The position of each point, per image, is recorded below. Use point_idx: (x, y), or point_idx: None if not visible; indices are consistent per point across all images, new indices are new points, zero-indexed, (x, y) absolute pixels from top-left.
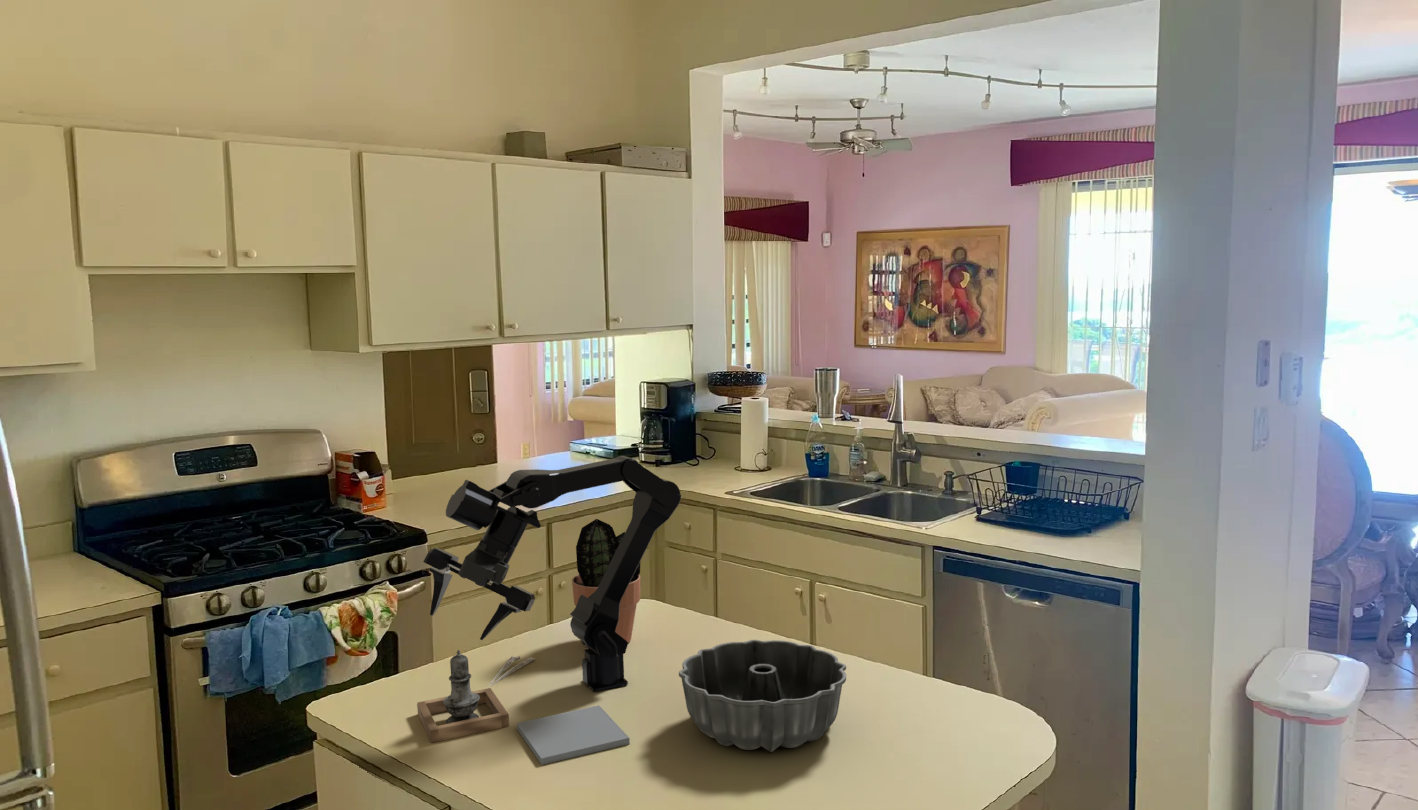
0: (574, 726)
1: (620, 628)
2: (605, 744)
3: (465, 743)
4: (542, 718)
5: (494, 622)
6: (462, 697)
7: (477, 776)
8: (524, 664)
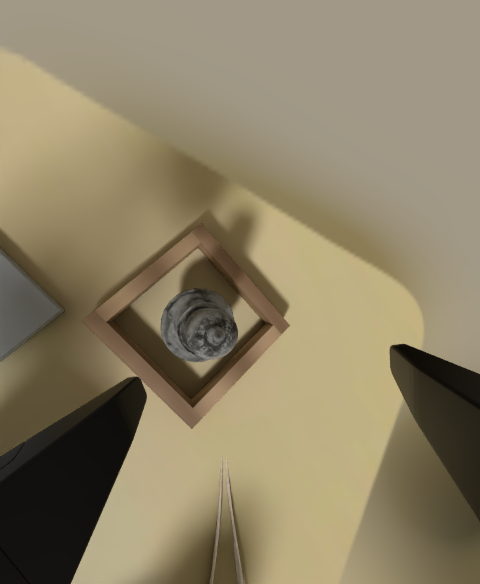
0: None
1: None
2: None
3: (138, 237)
4: (7, 345)
5: (23, 447)
6: (186, 308)
7: (45, 123)
8: None
